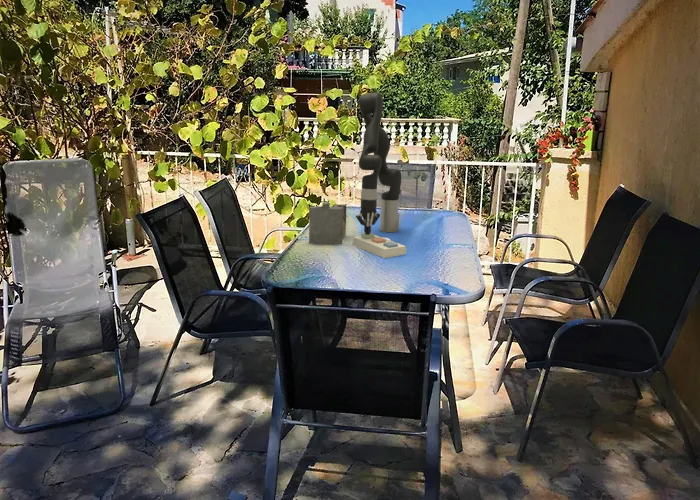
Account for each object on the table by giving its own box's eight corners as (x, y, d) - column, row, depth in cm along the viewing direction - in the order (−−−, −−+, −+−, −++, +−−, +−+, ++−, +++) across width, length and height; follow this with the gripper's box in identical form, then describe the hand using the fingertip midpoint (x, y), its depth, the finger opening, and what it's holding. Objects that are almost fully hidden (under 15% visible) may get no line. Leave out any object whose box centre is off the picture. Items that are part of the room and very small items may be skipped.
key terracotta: (379, 243, 252) (380, 237, 252) (385, 245, 249) (385, 239, 248) (371, 244, 250) (372, 238, 249) (377, 246, 246) (377, 240, 245)
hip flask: (341, 242, 261) (342, 202, 256) (342, 244, 257) (343, 203, 252) (309, 242, 260) (309, 201, 255) (308, 244, 256) (309, 202, 251)
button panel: (373, 242, 263) (373, 234, 262) (405, 254, 243) (406, 246, 242) (352, 245, 257) (352, 236, 256) (384, 258, 236) (384, 249, 235)
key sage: (368, 238, 259) (369, 232, 259) (374, 240, 256) (374, 234, 255) (361, 239, 257) (361, 233, 256) (366, 241, 253) (366, 235, 253)
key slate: (391, 247, 245) (391, 241, 244) (397, 250, 241) (397, 244, 241) (383, 248, 243) (383, 242, 242) (389, 251, 239) (389, 245, 238)
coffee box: (333, 234, 276) (334, 203, 272) (346, 235, 275) (346, 204, 271) (329, 238, 268) (330, 207, 264) (342, 239, 267) (342, 207, 262)
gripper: (375, 195, 258) (374, 230, 262) (352, 197, 251) (351, 233, 255) (385, 198, 252) (383, 234, 256) (361, 200, 245) (360, 236, 249)
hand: (367, 233), depth 256 cm, fingers closed
